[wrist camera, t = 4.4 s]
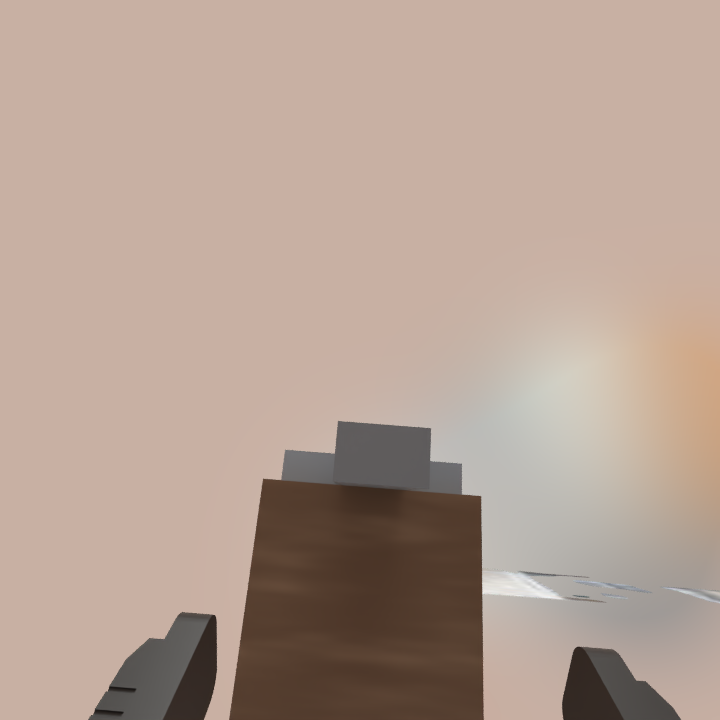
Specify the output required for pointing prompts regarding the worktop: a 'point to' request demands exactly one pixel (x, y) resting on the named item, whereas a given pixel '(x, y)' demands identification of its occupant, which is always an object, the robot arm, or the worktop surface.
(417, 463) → the lid
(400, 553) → the post
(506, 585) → the worktop surface
